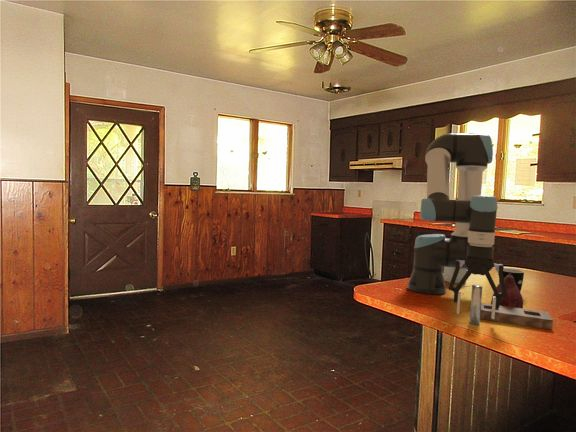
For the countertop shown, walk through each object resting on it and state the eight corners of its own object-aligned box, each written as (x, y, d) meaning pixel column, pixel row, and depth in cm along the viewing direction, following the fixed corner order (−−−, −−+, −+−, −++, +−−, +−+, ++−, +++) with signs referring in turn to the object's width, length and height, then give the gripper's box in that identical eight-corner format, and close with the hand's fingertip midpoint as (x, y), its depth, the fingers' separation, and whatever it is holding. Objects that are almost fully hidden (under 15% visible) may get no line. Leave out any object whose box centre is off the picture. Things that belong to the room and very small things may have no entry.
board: (474, 318, 138) (475, 309, 138) (474, 310, 147) (474, 301, 147) (552, 329, 129) (552, 320, 129) (546, 320, 139) (547, 311, 138)
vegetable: (519, 323, 145) (529, 285, 140) (487, 313, 150) (495, 276, 145) (523, 309, 153) (532, 273, 148) (492, 300, 159) (500, 265, 153)
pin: (469, 323, 132) (472, 286, 131) (469, 321, 135) (472, 284, 134) (479, 325, 131) (482, 287, 130) (479, 322, 133) (482, 285, 133)
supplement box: (452, 283, 189) (454, 256, 188) (442, 280, 196) (444, 253, 195) (466, 283, 191) (468, 256, 190) (456, 279, 198) (458, 253, 197)
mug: (519, 298, 167) (521, 273, 166) (494, 294, 172) (496, 269, 172) (525, 293, 176) (527, 269, 175) (502, 289, 182) (504, 266, 181)
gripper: (442, 242, 132) (437, 312, 133) (522, 250, 123) (515, 324, 125) (443, 240, 139) (439, 306, 140) (519, 247, 130) (513, 317, 132)
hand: (475, 315), depth 132 cm, fingers open, 9 cm apart
